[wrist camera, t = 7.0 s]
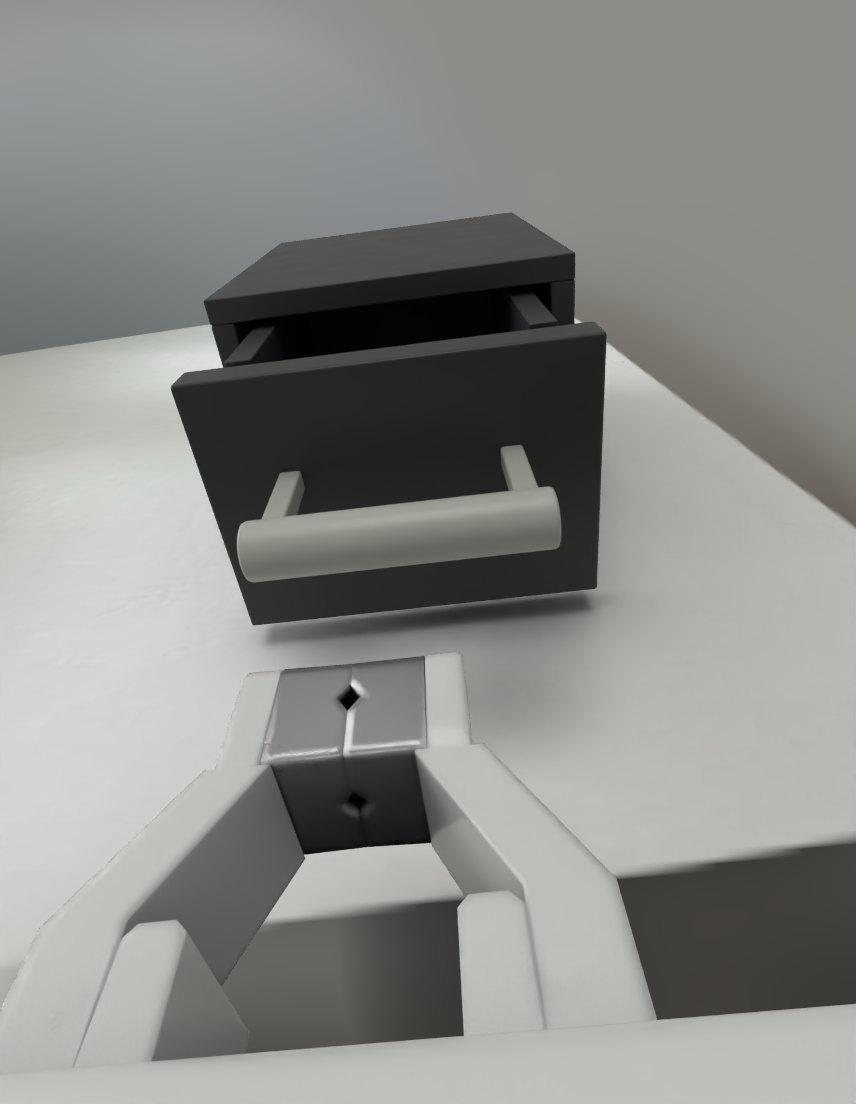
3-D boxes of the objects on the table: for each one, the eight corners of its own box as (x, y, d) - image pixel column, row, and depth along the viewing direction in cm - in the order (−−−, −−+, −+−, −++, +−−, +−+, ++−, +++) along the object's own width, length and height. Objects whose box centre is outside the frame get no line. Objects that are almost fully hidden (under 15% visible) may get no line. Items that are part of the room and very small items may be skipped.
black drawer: (639, 687, 16) (667, 387, 12) (218, 730, 16) (98, 456, 12) (527, 426, 31) (522, 253, 26) (309, 452, 31) (269, 286, 27)
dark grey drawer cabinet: (572, 514, 25) (575, 252, 20) (275, 547, 26) (202, 300, 20) (519, 393, 37) (512, 212, 32) (318, 417, 38) (280, 243, 33)
